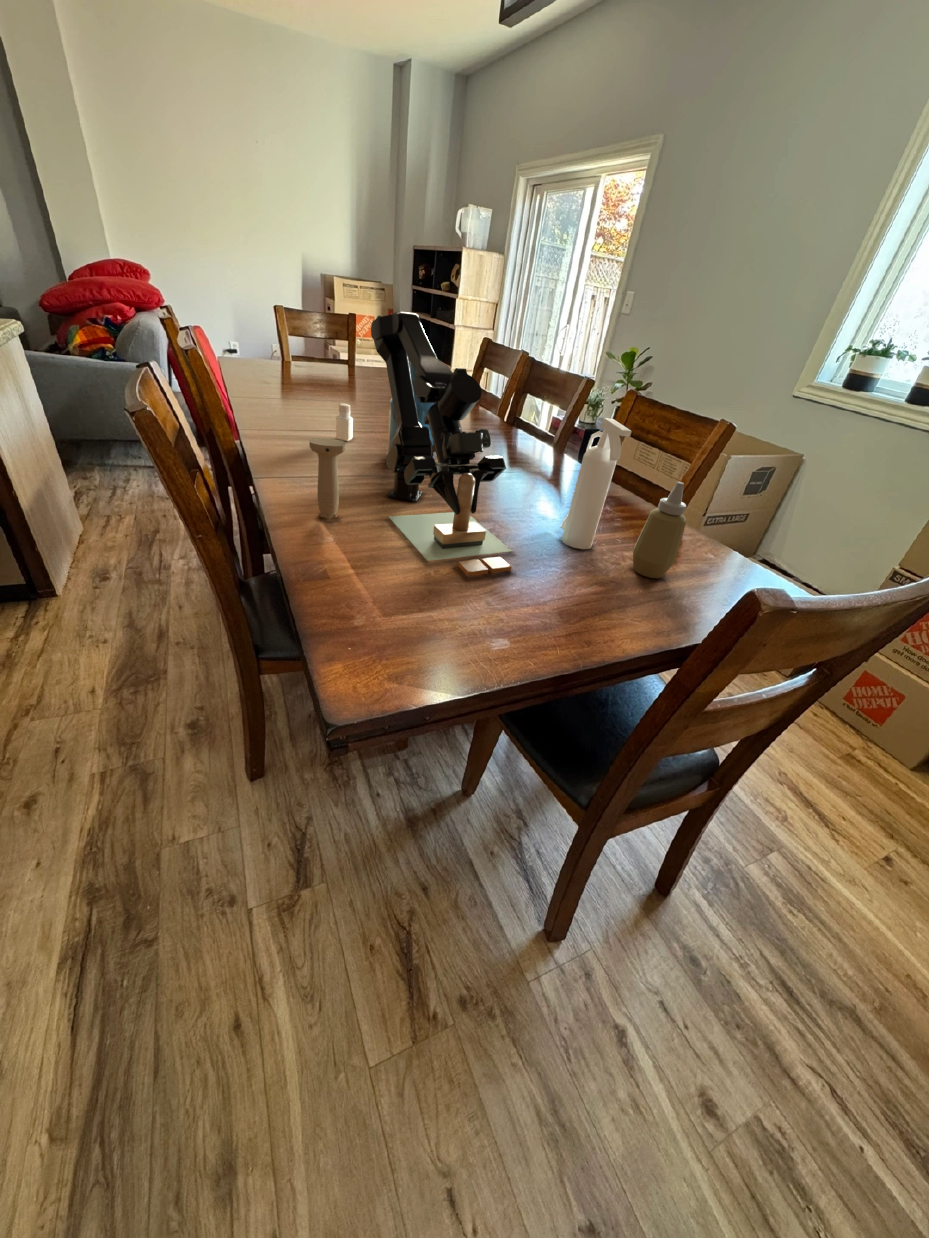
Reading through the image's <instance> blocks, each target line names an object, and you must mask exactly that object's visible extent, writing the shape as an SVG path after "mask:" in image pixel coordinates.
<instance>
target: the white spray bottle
mask: <svg viewBox="0 0 929 1238" xmlns="http://www.w3.org/2000/svg"><path fill="white" fill-rule="evenodd" d="M599 428H601V429H603V431H600V430H598V431H596V432H594V433H592V434H590V438H589V440H588V443H587V446H586V449H585V452H584V453H583V456H582V460H581V464H580V467H579V472H578V476H577V479H576V483H575V487H574V491H573V494H572V498H571V502H570V506H569V510H568V513H567V515H566V516H565V518H564V519H563V521H562V522H561V524H560V527H559V528H560V529H562V530H563V533H562V536H561V542H562V543H564V545H566V546H568V547H571V548H574V549H579V550H588V549H591V548H592V546H593V543H594V540H595V537H596V533H597V530H598V526H599V523H600V519H601V516H602V513H603V509H604V506H605V503H606V499H607V496H608V493H609V488H610V486H611V483H612V480H613V475H614V472H615V468H616V467H617V463H618V461H619V460H621V454H622V442H621V437H628V438H630V437H631V434H632V430H631V429H630V428H628V427H626V426H625V425H623V424H622V423H620V422H618V421H617V420H616V419H614V418H609V417H603V419H602V421H601V423H600V425H599ZM598 437H599V439H598V442H597V444H596V445H595V446H592V445H593V442H594V439H595V438H598Z"/></svg>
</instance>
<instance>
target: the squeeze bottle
mask: <svg viewBox="0 0 929 1238" xmlns="http://www.w3.org/2000/svg"><path fill="white" fill-rule="evenodd" d="M684 487H685V483H684V482H683V481H676V483H675V485H674V486H673V488H672V489H671V491H670V493H669V494H668V496H667V497H662V498H660V500H659V503H658V505H657V508H654V509H652V510H651V511H650V513H649V514H648V517H647V519H646V521H645V522H644V525H643V528H642V529H641V531H640V534H639V536H638V538H637V540H636V542H635V545H634V547H633V549H632V565H633V566H632V568H633V571H634V572H636V573H637V574H639V575H641V576H643V577H647V578H650V579H661V578H663V577H664V576H665V575H666V573H668V571H669V570H670V569H671V567H673V565H674V564H675V563H676V559H677V556H678V552H679V549H680V545H681V542H682V539H683V535H684V531H685V527H686V523H687V518H686V517H685V515H684V513H685V511H686V508H687V504H686V503H685V502H684V501H683V494H684Z"/></svg>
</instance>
